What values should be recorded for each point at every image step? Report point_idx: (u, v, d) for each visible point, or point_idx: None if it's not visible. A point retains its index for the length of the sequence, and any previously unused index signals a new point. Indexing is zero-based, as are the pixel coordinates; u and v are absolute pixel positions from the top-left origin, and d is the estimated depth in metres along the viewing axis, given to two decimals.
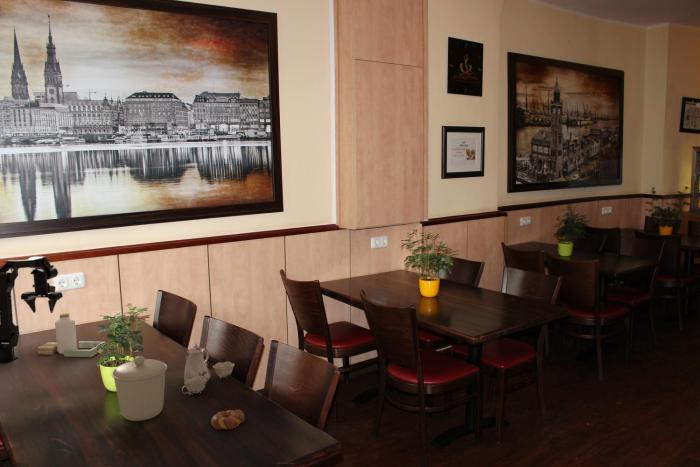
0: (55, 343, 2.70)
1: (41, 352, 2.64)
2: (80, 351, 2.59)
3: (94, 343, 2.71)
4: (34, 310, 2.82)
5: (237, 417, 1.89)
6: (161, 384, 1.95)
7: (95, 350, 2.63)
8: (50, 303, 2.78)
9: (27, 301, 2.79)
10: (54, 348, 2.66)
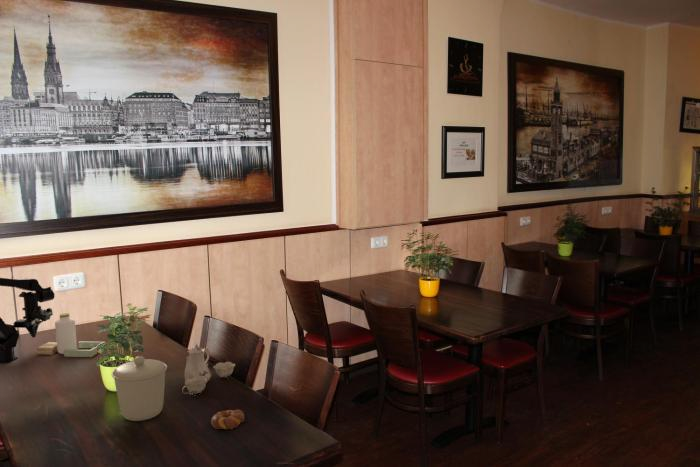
0: (55, 343, 2.70)
1: (41, 352, 2.64)
2: (80, 351, 2.59)
3: (94, 343, 2.71)
4: None
5: (236, 417, 1.89)
6: (161, 384, 1.95)
7: (95, 350, 2.63)
8: None
9: None
10: (54, 348, 2.66)
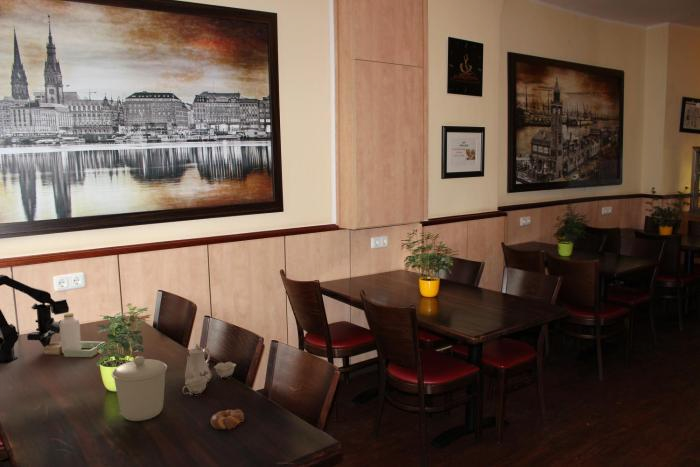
0: None
1: (47, 352, 2.64)
2: (80, 351, 2.59)
3: (94, 343, 2.71)
4: None
5: (236, 417, 1.89)
6: (161, 384, 1.95)
7: (95, 350, 2.63)
8: None
9: None
10: (61, 348, 2.66)
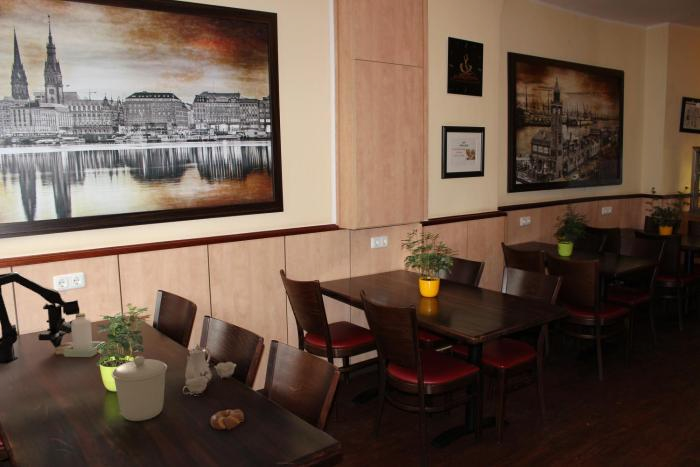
0: None
1: (59, 352, 2.64)
2: (80, 351, 2.59)
3: (94, 343, 2.71)
4: None
5: (236, 417, 1.89)
6: (161, 384, 1.95)
7: (95, 350, 2.63)
8: None
9: None
10: (72, 348, 2.65)
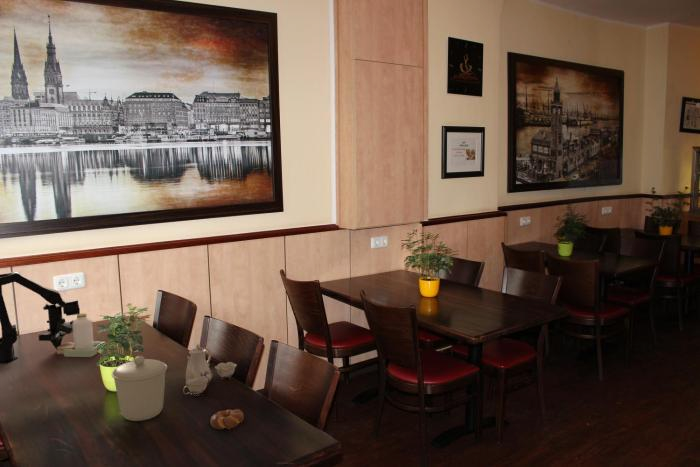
0: None
1: (60, 352, 2.64)
2: (80, 351, 2.59)
3: (94, 343, 2.71)
4: None
5: (236, 417, 1.89)
6: (161, 384, 1.95)
7: (95, 350, 2.63)
8: None
9: None
10: None
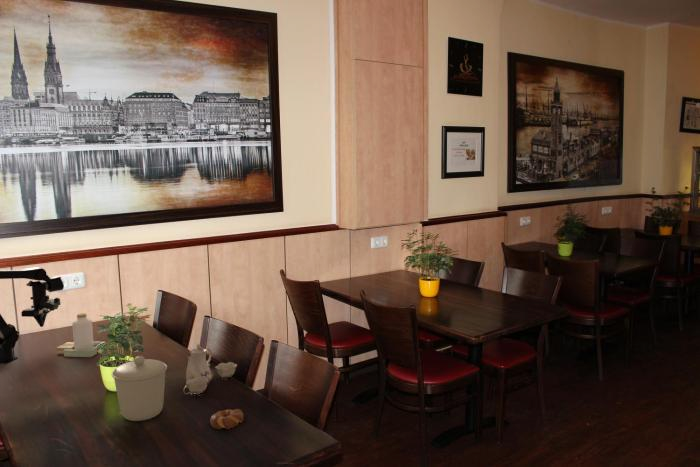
0: None
1: (60, 352, 2.64)
2: (80, 351, 2.59)
3: (94, 343, 2.71)
4: None
5: (235, 417, 1.89)
6: (161, 384, 1.95)
7: (95, 350, 2.63)
8: None
9: None
10: None
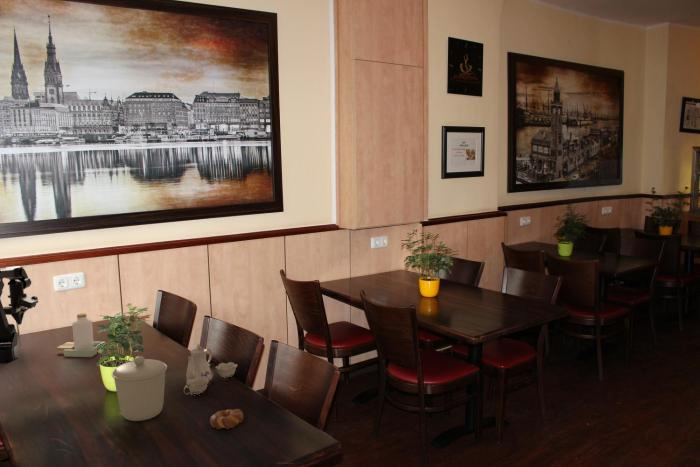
0: None
1: (60, 352, 2.64)
2: (80, 351, 2.59)
3: (94, 343, 2.71)
4: None
5: (235, 417, 1.89)
6: (161, 384, 1.95)
7: (95, 350, 2.63)
8: None
9: None
10: (73, 348, 2.65)
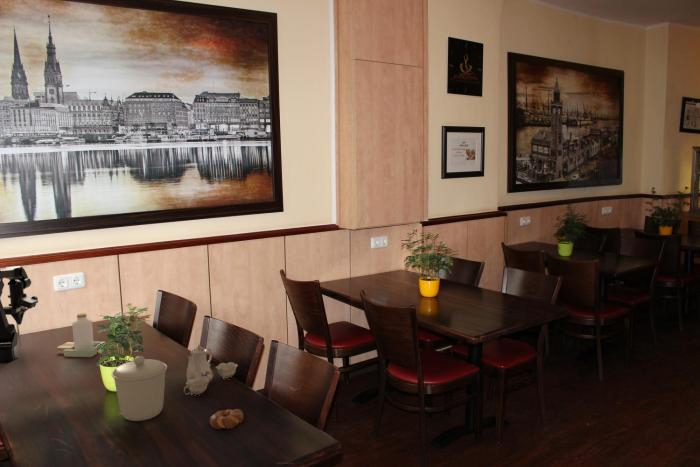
0: None
1: (60, 352, 2.64)
2: (80, 351, 2.59)
3: (94, 343, 2.71)
4: None
5: (235, 417, 1.89)
6: (161, 384, 1.95)
7: (95, 350, 2.63)
8: None
9: None
10: (73, 348, 2.65)
